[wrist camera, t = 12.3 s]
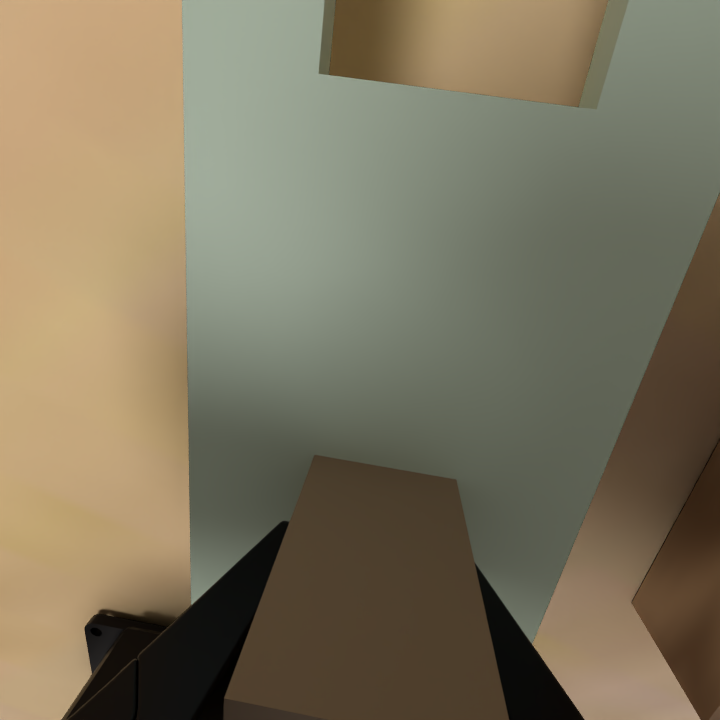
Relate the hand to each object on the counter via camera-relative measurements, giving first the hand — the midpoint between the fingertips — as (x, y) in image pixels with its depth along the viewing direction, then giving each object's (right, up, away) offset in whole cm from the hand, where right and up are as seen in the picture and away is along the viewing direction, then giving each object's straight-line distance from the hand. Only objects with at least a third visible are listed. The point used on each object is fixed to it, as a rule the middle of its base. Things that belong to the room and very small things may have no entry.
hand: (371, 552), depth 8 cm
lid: (+1, +5, 0) cm, 5 cm away
